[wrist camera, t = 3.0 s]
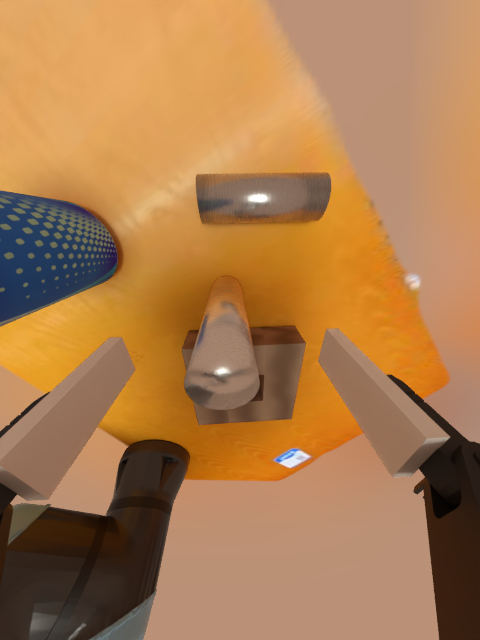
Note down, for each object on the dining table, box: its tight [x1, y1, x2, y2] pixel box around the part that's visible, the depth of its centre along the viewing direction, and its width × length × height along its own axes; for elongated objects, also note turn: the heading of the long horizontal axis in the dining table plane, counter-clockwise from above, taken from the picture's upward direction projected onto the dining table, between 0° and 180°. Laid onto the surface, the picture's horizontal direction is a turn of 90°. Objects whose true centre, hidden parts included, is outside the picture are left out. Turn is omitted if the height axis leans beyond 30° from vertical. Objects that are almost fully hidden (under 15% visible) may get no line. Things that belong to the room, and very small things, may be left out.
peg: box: [184, 276, 260, 410], centre depth 16 cm, size 4×4×16 cm
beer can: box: [0, 191, 118, 327], centre depth 13 cm, size 8×8×16 cm
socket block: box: [182, 326, 306, 425], centre depth 28 cm, size 16×16×4 cm
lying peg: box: [196, 173, 331, 224], centre depth 17 cm, size 12×4×4 cm
